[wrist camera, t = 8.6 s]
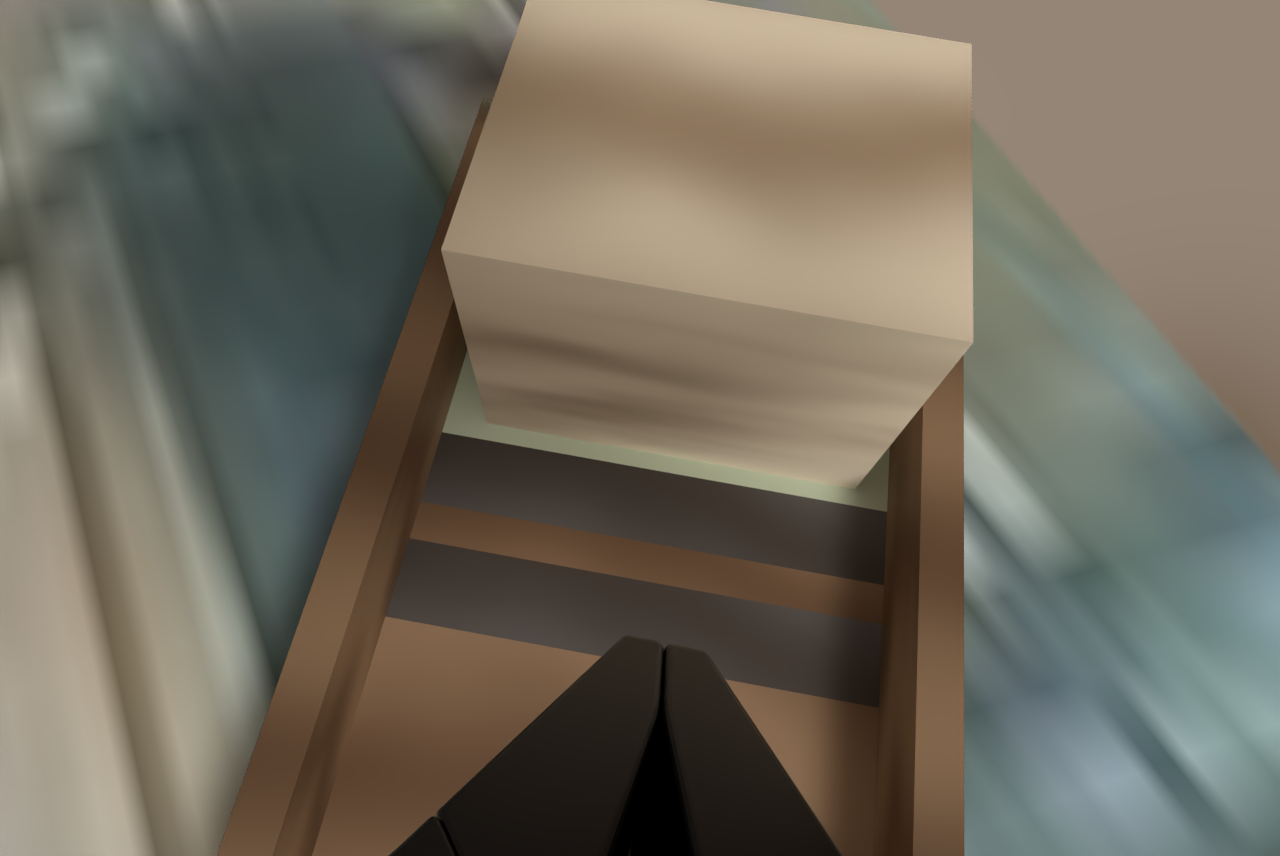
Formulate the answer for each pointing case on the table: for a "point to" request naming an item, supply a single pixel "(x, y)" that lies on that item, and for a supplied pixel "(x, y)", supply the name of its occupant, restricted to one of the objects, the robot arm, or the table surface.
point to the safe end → (472, 423)
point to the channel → (608, 616)
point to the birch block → (718, 233)
